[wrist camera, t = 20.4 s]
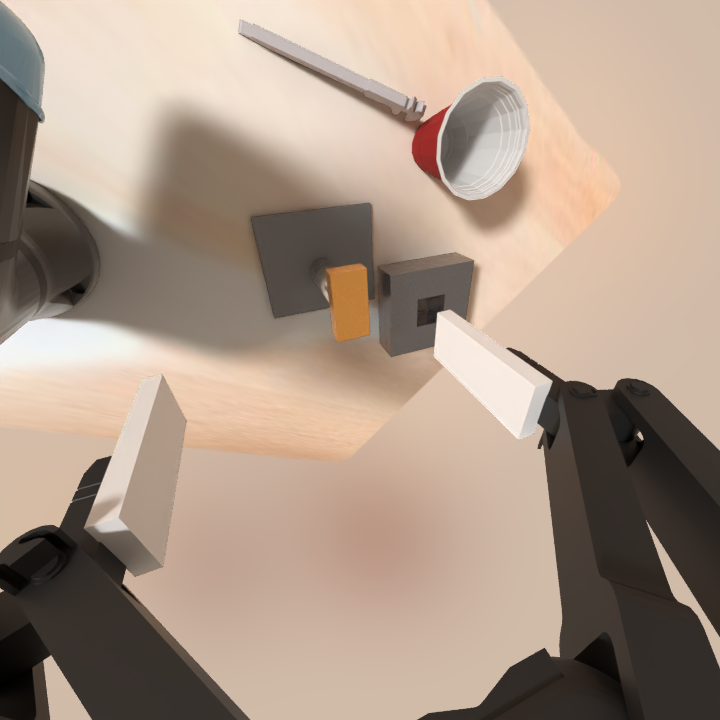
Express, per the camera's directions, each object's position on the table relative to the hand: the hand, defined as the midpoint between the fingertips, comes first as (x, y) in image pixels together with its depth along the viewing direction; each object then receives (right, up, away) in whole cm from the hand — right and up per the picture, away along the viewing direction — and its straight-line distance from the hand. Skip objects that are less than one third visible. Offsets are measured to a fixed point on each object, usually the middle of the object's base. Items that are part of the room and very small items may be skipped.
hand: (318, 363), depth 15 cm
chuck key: (-4, +13, +30) cm, 33 cm away
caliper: (-1, +32, +21) cm, 38 cm away
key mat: (-4, +14, +30) cm, 34 cm away
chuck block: (+12, +11, +39) cm, 42 cm away
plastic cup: (+11, +29, +27) cm, 42 cm away
